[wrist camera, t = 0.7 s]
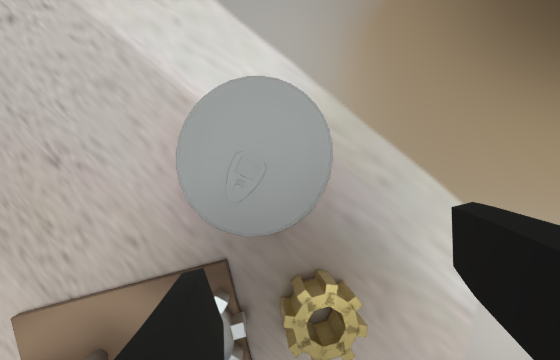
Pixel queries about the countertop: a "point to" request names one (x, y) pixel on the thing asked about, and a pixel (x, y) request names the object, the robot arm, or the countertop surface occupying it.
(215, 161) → the canned food
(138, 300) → the gear board
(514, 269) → the robot arm
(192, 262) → the countertop surface
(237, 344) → the gear
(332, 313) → the brass gear
